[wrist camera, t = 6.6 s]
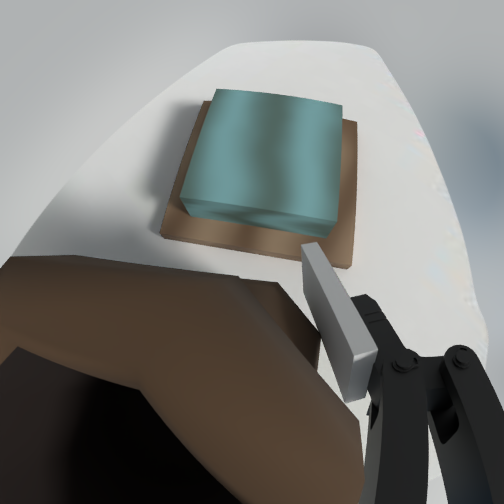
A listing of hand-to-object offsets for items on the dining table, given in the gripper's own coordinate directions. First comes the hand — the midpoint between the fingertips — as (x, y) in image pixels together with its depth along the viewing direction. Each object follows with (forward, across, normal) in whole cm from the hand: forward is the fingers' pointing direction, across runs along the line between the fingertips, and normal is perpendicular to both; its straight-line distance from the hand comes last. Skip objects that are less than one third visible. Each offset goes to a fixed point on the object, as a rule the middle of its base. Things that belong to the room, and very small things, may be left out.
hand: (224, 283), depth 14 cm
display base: (+17, +5, 0) cm, 18 cm away
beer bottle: (+6, 0, -11) cm, 12 cm away
